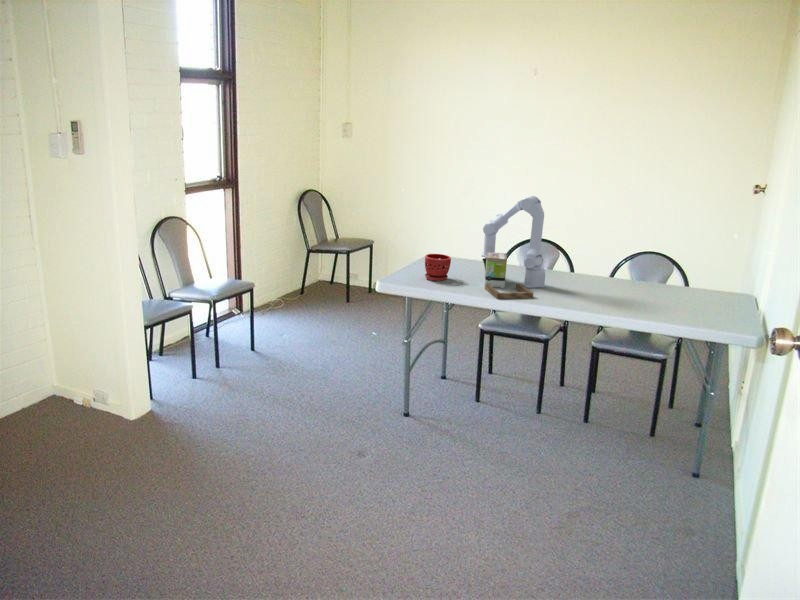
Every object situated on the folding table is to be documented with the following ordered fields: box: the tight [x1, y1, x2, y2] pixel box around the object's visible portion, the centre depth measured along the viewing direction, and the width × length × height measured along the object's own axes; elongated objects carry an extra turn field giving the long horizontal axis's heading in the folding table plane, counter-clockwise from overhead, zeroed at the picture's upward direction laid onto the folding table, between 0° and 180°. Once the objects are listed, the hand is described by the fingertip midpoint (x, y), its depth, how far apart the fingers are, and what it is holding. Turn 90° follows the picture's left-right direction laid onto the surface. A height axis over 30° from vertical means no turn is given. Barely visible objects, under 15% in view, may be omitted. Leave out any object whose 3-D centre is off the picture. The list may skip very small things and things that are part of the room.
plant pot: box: [424, 253, 452, 282], centre depth 342 cm, size 13×13×12 cm
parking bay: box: [484, 282, 534, 300], centre depth 319 cm, size 18×18×2 cm
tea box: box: [484, 252, 508, 289], centre depth 335 cm, size 15×10×15 cm, turn 173°
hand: (487, 272), depth 348 cm, fingers closed
